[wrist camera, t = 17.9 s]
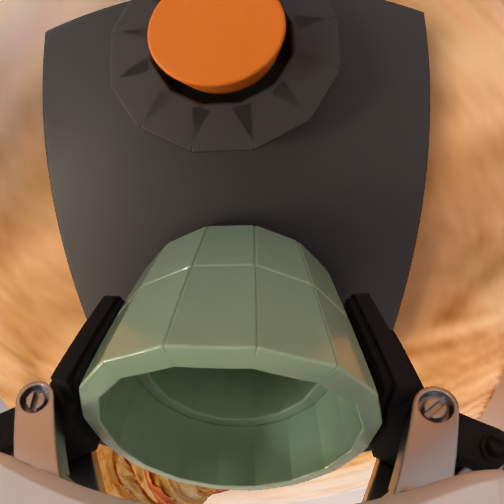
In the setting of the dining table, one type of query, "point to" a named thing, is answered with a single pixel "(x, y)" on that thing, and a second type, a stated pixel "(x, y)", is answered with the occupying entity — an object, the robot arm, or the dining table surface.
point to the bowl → (233, 366)
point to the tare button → (216, 41)
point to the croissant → (145, 482)
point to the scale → (242, 146)
